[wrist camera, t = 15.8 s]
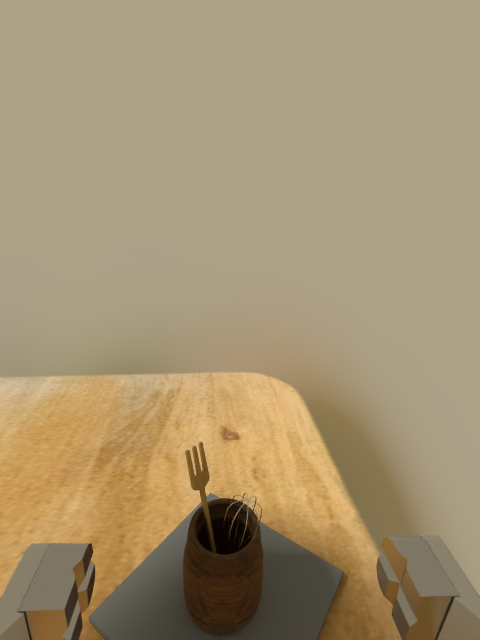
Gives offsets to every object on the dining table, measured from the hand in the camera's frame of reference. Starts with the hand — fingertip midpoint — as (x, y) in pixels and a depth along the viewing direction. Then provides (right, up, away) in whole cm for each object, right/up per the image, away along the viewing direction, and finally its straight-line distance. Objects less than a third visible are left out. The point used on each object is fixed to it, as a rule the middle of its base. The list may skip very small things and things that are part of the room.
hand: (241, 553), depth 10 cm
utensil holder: (-2, -15, +18) cm, 23 cm away
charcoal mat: (-1, -15, +18) cm, 23 cm away
